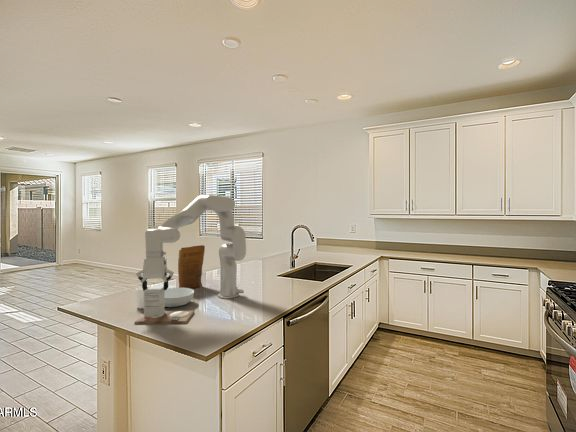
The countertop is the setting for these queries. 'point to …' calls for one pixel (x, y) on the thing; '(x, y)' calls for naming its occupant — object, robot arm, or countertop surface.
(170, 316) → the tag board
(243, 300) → the countertop surface
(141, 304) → the white cup
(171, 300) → the serving bowl
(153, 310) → the supplement box
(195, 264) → the pancake mix bag
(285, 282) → the countertop surface
